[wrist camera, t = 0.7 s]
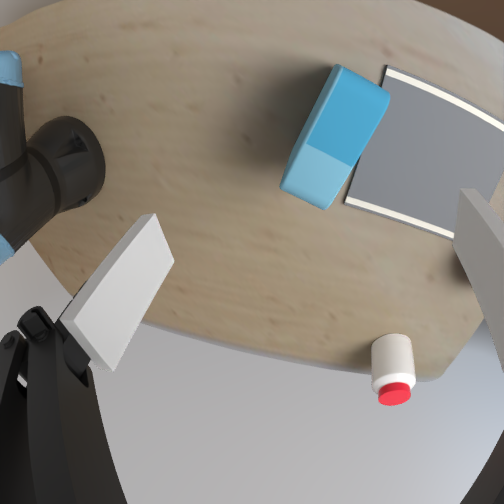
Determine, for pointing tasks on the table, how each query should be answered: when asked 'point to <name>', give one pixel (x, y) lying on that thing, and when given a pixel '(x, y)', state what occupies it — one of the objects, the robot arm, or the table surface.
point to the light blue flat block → (334, 137)
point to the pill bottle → (392, 368)
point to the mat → (427, 155)
